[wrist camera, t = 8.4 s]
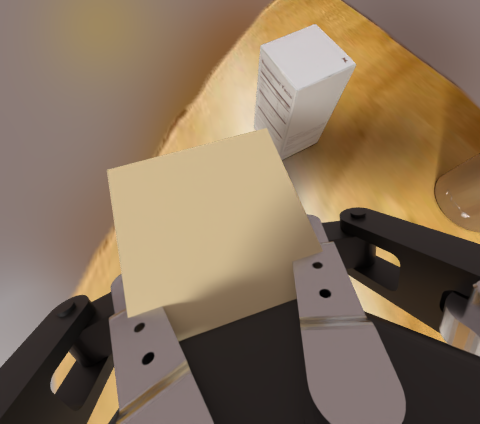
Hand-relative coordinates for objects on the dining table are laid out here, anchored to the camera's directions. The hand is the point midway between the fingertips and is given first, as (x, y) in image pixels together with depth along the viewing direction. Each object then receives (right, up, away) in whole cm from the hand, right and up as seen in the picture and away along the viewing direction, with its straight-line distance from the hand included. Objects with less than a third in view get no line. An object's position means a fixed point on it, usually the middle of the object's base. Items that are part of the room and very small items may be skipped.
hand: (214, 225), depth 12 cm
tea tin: (+1, -4, +5) cm, 6 cm away
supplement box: (+8, +13, +22) cm, 27 cm away
